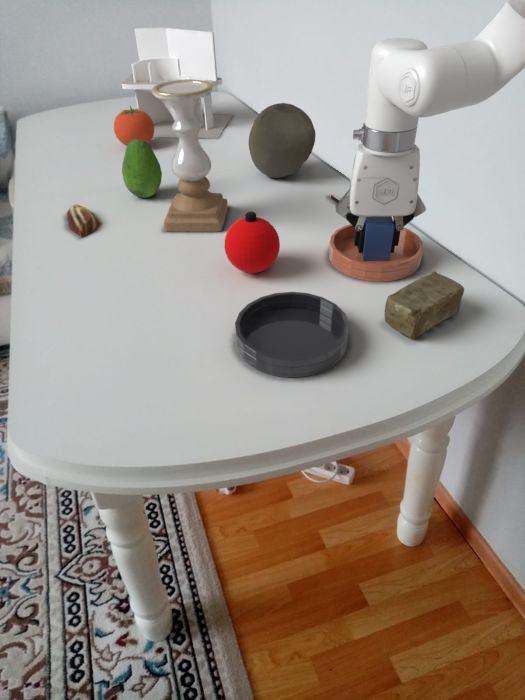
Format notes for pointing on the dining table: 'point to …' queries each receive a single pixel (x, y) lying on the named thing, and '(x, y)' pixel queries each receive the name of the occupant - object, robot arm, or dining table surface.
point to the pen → (336, 199)
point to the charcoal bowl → (291, 334)
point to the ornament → (252, 244)
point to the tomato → (133, 126)
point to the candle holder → (191, 162)
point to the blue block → (378, 238)
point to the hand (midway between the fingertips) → (375, 248)
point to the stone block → (423, 304)
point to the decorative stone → (81, 220)
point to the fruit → (141, 169)
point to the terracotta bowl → (396, 268)
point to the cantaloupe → (281, 140)
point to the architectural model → (174, 75)
